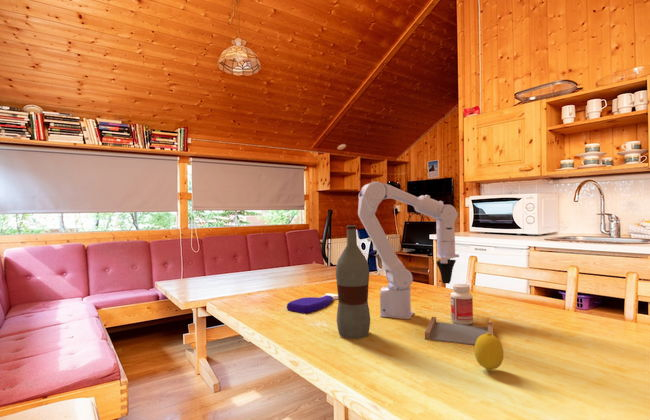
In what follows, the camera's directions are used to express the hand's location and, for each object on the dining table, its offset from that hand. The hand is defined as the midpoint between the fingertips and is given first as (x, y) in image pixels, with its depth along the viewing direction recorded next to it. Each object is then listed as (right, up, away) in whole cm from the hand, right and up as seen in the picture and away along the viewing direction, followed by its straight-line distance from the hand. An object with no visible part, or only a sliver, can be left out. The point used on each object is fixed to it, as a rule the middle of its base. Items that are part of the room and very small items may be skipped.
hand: (446, 282), depth 119 cm
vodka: (-32, -11, -19) cm, 39 cm away
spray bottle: (-43, -12, +15) cm, 47 cm away
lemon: (-6, -10, -43) cm, 45 cm away
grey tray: (-3, -10, -20) cm, 23 cm away
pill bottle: (+1, -10, -10) cm, 14 cm away
